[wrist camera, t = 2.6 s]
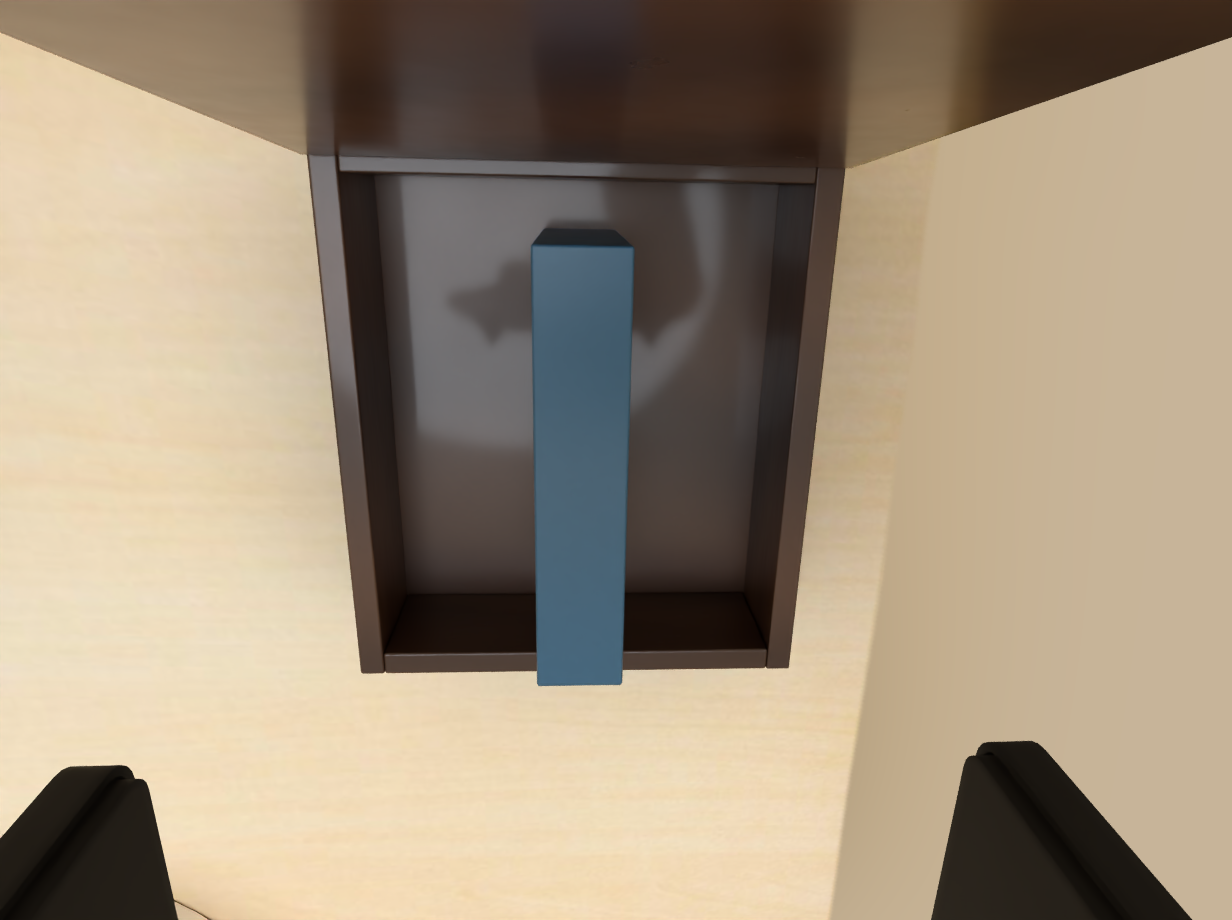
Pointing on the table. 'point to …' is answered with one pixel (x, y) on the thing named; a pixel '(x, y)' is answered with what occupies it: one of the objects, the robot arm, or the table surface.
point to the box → (503, 398)
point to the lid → (614, 70)
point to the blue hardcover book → (581, 450)
